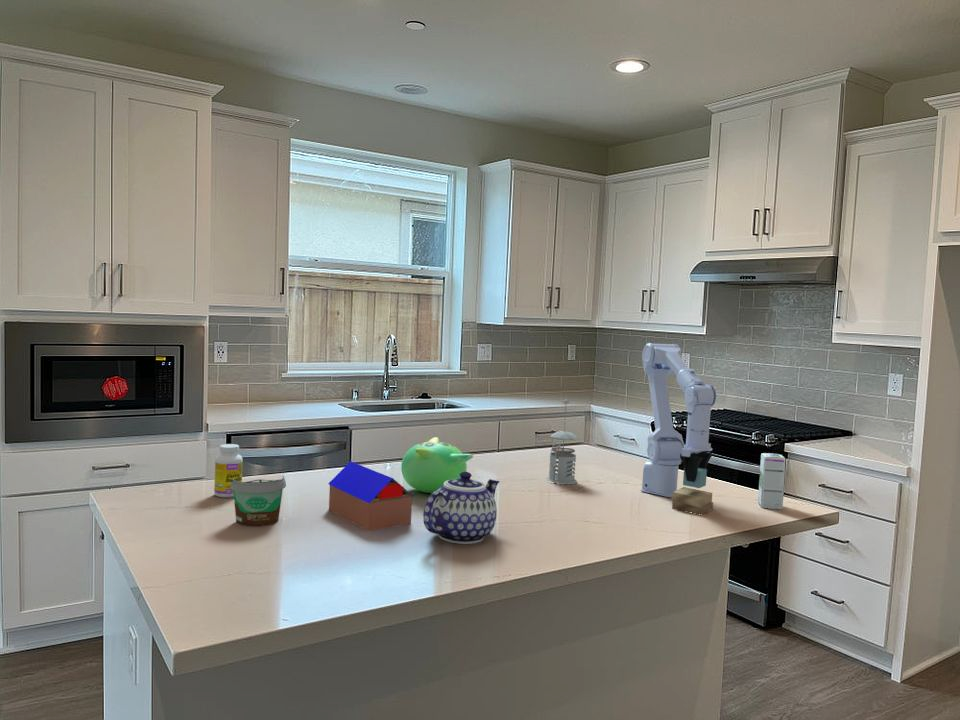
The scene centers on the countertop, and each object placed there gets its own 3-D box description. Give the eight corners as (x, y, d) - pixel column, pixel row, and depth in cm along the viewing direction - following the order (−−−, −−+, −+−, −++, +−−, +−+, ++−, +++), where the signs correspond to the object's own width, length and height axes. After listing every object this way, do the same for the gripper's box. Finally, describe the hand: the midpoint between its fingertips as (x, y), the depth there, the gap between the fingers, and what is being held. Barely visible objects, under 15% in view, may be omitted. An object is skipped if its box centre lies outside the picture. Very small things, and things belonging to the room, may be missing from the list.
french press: (583, 481, 222) (587, 399, 220) (566, 487, 212) (571, 403, 210) (554, 475, 227) (558, 396, 225) (536, 482, 217) (541, 399, 216)
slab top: (671, 501, 195) (672, 492, 194) (683, 496, 201) (683, 487, 201) (700, 507, 190) (701, 498, 190) (711, 501, 196) (712, 492, 196)
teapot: (447, 559, 147) (450, 487, 146) (397, 541, 157) (400, 473, 156) (522, 533, 166) (526, 469, 165) (474, 518, 176) (476, 458, 175)
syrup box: (783, 510, 199) (787, 457, 198) (760, 508, 200) (764, 456, 199) (778, 504, 204) (782, 454, 203) (756, 502, 205) (760, 452, 204)
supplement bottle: (224, 499, 182) (225, 449, 181) (208, 494, 186) (210, 445, 185) (247, 495, 187) (248, 446, 186) (231, 490, 191) (233, 442, 190)
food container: (233, 530, 158) (234, 485, 157) (229, 522, 164) (230, 478, 163) (290, 525, 164) (291, 481, 163) (284, 517, 169) (285, 475, 169)
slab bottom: (671, 510, 195) (672, 501, 194) (684, 505, 201) (684, 496, 201) (700, 517, 190) (701, 507, 189) (712, 511, 196) (712, 502, 196)
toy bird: (456, 483, 210) (458, 433, 209) (474, 499, 194) (476, 444, 193) (395, 485, 205) (397, 434, 204) (408, 501, 189) (410, 445, 188)
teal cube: (682, 485, 194) (684, 468, 194) (689, 482, 198) (690, 466, 198) (699, 488, 192) (700, 471, 191) (705, 485, 195) (706, 469, 195)
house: (369, 504, 185) (371, 459, 184) (412, 524, 170) (414, 475, 169) (327, 510, 178) (328, 463, 177) (367, 532, 162) (369, 481, 161)
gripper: (701, 434, 186) (697, 486, 187) (722, 429, 197) (719, 478, 198) (675, 430, 190) (672, 481, 191) (697, 425, 201) (694, 473, 202)
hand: (694, 479), depth 195 cm, fingers closed on teal cube, 4 cm apart
